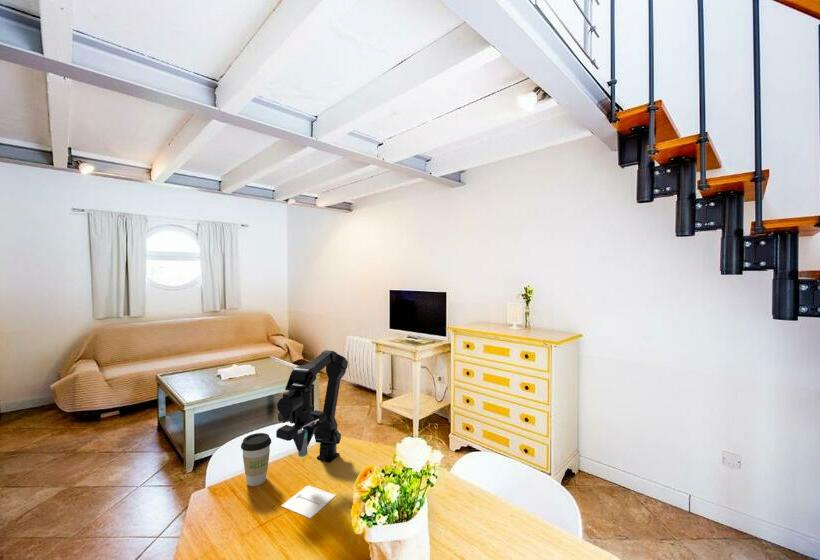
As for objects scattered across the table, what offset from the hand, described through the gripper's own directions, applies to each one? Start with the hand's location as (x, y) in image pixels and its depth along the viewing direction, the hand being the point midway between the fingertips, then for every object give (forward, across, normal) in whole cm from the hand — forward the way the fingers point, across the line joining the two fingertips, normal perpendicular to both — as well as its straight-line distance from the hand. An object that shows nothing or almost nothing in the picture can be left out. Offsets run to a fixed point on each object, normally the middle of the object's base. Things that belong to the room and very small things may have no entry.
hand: (302, 448), depth 123 cm
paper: (+12, +6, +9) cm, 16 cm away
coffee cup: (+12, +6, -15) cm, 21 cm away
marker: (+2, 0, 0) cm, 2 cm away
